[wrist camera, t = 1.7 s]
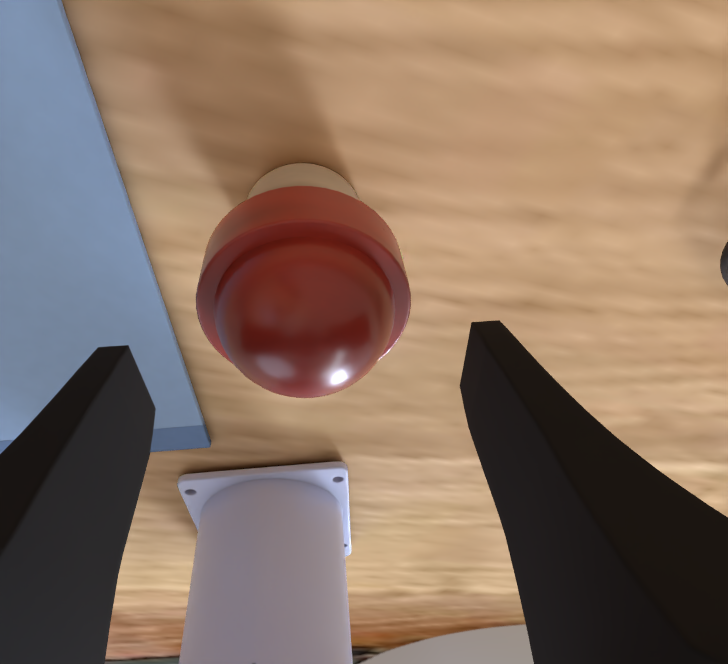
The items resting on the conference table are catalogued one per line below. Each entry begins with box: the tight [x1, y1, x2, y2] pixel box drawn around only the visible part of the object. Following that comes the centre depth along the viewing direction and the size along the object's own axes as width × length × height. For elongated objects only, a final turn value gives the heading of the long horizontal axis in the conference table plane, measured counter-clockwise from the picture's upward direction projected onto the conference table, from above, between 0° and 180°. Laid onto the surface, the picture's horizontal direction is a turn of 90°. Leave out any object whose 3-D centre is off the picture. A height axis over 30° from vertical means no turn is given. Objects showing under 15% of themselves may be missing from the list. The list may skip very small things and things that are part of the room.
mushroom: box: [196, 163, 411, 398], centre depth 14 cm, size 5×5×7 cm
